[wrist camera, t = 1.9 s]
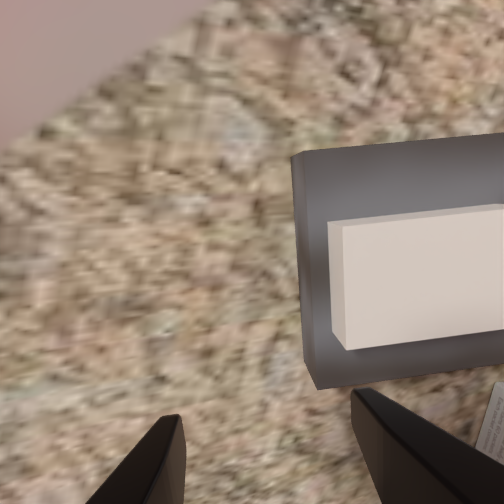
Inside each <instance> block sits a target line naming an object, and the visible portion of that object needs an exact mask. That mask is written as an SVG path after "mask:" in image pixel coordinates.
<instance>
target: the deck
mask: <svg viewBox="0 0 504 504" xmlns="http://www.w3.org/2000/svg"><path fill="white" fill-rule="evenodd" d="M291 172H292V187H293V202H294V217H295V232H296V247H297V263H298V278H299V293H300V308H301V323H302V338H303V354H304V362H305V364H306V366H307V369H308V371H309V373H310V375H311V377H312V380H313V382H314V384H315V386H316V388H317V390H322V389H329V388H336V387H343V386H350V385H357V384H364V383H371V382H378V381H385V380H392V379H399V378H406V377H413V376H420V375H427V374H434V373H441V372H448V371H455V370H462V369H469V368H476V367H483V366H490V365H497V364H504V329H501V330H493V331H486V332H479V333H471V334H464V335H457V336H449V337H442V338H434V339H427V340H420V341H412V342H405V343H398V344H390V345H383V346H375V347H368V348H361V349H353V350H346V349H345V348H344V347H343V345H342V344H341V343H340V341H339V340H338V339H337V337H336V336H335V335H334V333H333V332H332V317H331V294H330V271H329V248H328V224H327V222H330V221H340V220H349V219H358V218H368V217H377V216H386V215H395V214H405V213H414V212H423V211H433V210H442V209H451V208H461V207H470V206H479V205H488V204H504V133H494V134H483V135H472V136H461V137H450V138H439V139H428V140H417V141H407V142H396V143H385V144H374V145H363V146H352V147H341V148H330V149H319V150H309V151H303V152H300V153H298V154H296V155H294V156H292V157H291Z"/></svg>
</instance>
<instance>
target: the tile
mask: <svg viewBox="0 0 504 504" xmlns="http://www.w3.org/2000/svg"><path fill="white" fill-rule="evenodd" d="M327 224H328V248H329V271H330V294H331V317H332V332H333V333H334V335H335V336H336V337H337V339H338V340H339V341H340V343H341V344H342V345H343V347H344V348H345V349H346V350H353V349H361V348H368V347H375V346H383V345H390V344H398V343H405V342H412V341H420V340H427V339H434V338H442V337H449V336H457V335H464V334H471V333H479V332H486V331H493V330H501V329H504V204H488V205H479V206H470V207H461V208H451V209H442V210H433V211H423V212H414V213H405V214H395V215H386V216H377V217H368V218H358V219H349V220H340V221H330V222H327Z"/></svg>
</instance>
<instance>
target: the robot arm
mask: <svg viewBox="0 0 504 504" xmlns="http://www.w3.org/2000/svg"><path fill="white" fill-rule="evenodd" d="M351 422H352V427H353V430H354V433H355V436H356V438H357V441H358V444H359V446H360V449H361V451H362V454H363V456H364V459H365V462H366V464H367V467H368V469H369V472H370V475H371V477H372V480H373V482H374V485H375V487H376V490H377V493H378V495H379V498H380V500H381V502H382V504H504V465H503V464H501V463H500V462H498V461H496V460H494V459H493V458H491V457H489V456H488V455H486V454H484V453H482V452H481V451H479V450H477V449H475V448H474V447H472V446H470V445H469V444H467V443H465V442H463V441H462V440H460V439H458V438H457V437H455V436H453V435H451V434H450V433H448V432H446V431H445V430H443V429H441V428H439V427H438V426H436V425H434V424H433V423H431V422H429V421H427V420H426V419H424V418H422V417H421V416H419V415H417V414H415V413H414V412H412V411H410V410H408V409H407V408H405V407H403V406H402V405H400V404H398V403H396V402H395V401H393V400H391V399H390V398H388V397H386V396H384V395H383V394H381V393H379V392H378V391H376V390H374V389H372V388H370V387H361V388H355V389H353V390H352V391H351ZM185 471H186V442H185V436H184V430H183V424H182V419H181V416H180V415H179V414H173V415H166V416H162V417H160V418H159V419H158V420H157V422H156V423H155V424H154V425H153V426H152V427H151V428H150V430H149V431H148V432H147V433H146V434H145V435H144V437H143V438H142V439H141V440H140V441H139V442H138V443H137V445H136V446H135V447H134V448H133V449H132V450H131V451H130V453H129V454H128V455H127V456H126V457H125V458H124V460H123V461H122V462H121V463H120V464H119V465H118V466H117V468H116V469H115V470H114V471H113V472H112V473H111V475H110V476H109V477H108V478H107V479H106V480H105V481H104V483H103V484H102V485H101V486H100V487H99V488H98V490H97V491H96V492H95V493H94V494H93V495H92V496H91V498H90V499H89V500H88V501H87V502H86V503H85V504H183V502H184V486H185Z"/></svg>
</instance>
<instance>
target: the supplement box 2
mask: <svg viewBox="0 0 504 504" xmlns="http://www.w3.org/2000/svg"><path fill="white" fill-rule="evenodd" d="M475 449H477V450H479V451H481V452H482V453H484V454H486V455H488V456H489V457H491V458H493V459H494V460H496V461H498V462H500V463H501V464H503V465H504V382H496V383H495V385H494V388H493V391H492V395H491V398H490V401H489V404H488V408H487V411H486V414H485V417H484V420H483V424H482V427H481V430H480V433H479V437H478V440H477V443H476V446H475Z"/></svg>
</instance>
